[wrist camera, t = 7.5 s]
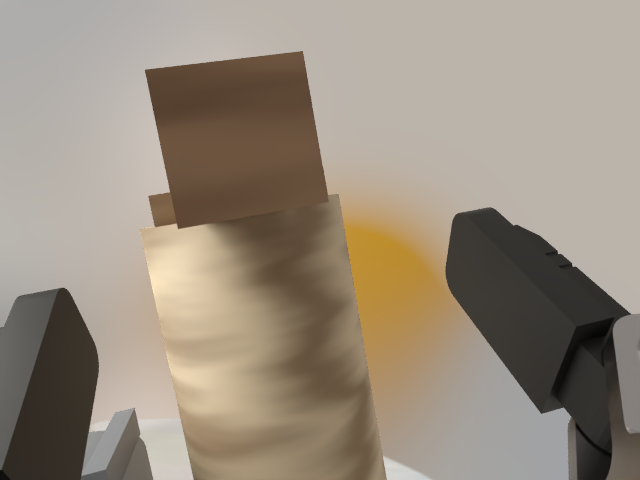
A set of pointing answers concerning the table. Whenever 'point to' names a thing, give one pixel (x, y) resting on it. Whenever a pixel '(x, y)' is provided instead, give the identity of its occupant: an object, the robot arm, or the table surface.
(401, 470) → the table surface
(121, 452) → the stand
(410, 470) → the table surface
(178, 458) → the table surface
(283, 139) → the wooden grain block
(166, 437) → the table surface
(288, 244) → the tower
